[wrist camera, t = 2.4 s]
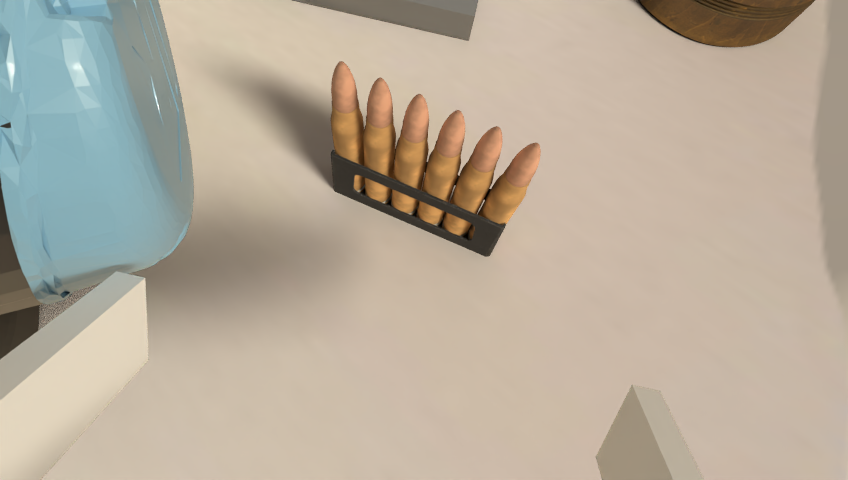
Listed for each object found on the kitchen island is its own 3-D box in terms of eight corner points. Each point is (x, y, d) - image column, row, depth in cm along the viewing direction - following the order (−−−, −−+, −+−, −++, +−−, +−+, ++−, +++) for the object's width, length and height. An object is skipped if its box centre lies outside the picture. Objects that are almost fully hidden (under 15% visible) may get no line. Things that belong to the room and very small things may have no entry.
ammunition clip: (498, 232, 32) (565, 135, 21) (488, 257, 32) (551, 172, 20) (346, 167, 33) (330, 37, 21) (333, 190, 32) (310, 70, 21)
